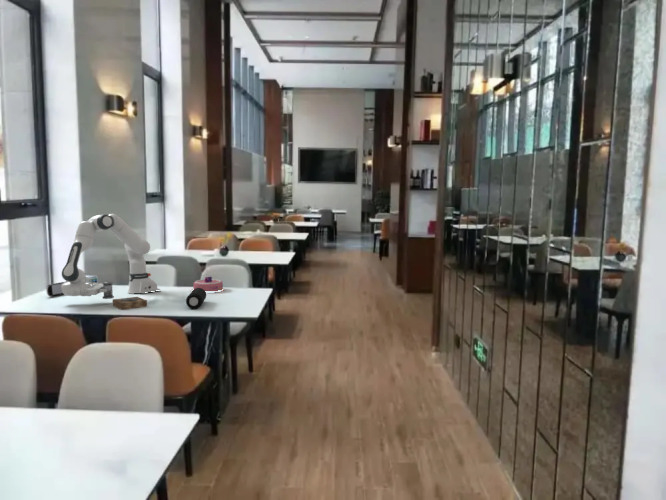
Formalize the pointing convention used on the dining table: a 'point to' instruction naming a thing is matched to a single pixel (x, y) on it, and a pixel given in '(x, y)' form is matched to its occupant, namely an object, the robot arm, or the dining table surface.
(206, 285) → the cake
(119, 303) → the stand
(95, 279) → the light bulb box
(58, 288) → the gaming console
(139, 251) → the robot arm
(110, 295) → the cylinder
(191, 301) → the portable speaker
